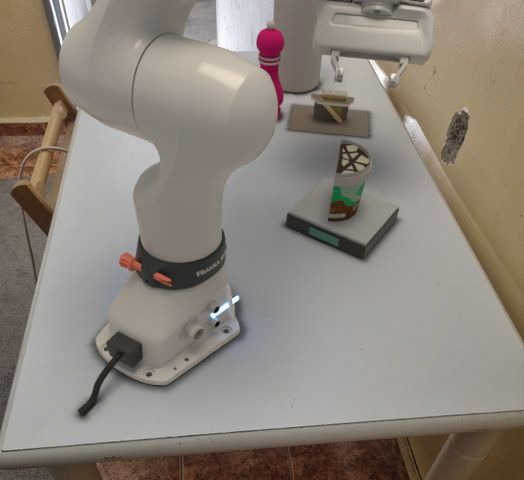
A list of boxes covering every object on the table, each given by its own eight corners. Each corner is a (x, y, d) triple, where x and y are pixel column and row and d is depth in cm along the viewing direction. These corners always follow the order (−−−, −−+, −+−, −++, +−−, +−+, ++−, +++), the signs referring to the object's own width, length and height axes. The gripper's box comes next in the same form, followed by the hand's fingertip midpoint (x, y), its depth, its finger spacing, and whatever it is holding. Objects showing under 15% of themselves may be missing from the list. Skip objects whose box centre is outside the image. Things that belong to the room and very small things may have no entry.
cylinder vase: (267, 72, 137) (272, -42, 118) (314, 72, 138) (326, -42, 119) (273, 94, 129) (279, -25, 110) (322, 93, 130) (337, -25, 111)
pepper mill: (259, 125, 119) (262, 28, 104) (247, 111, 123) (248, 16, 108) (287, 120, 121) (294, 24, 106) (274, 106, 125) (279, 12, 110)
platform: (367, 137, 117) (373, 108, 112) (289, 129, 118) (291, 100, 113) (367, 112, 125) (373, 84, 120) (293, 105, 126) (296, 77, 121)
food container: (361, 230, 90) (373, 180, 83) (326, 226, 91) (335, 175, 83) (365, 191, 98) (376, 141, 90) (333, 187, 99) (341, 137, 91)
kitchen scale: (362, 260, 90) (365, 245, 88) (285, 226, 96) (286, 212, 93) (396, 220, 98) (400, 205, 96) (323, 190, 103) (325, 176, 101)
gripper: (317, -18, 85) (305, 69, 87) (443, -7, 84) (428, 82, 85) (317, 4, 92) (305, 84, 93) (434, 15, 90) (420, 97, 91)
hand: (365, 83), depth 89 cm, fingers open, 8 cm apart
